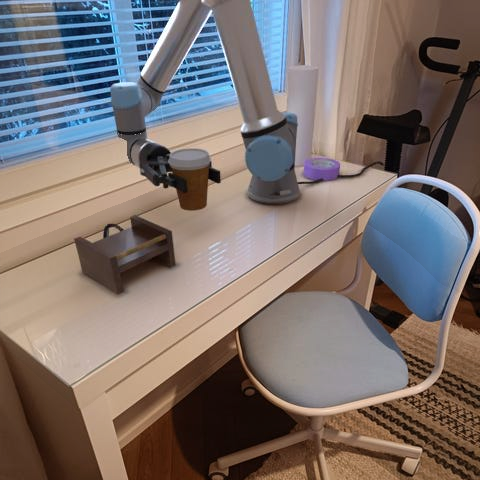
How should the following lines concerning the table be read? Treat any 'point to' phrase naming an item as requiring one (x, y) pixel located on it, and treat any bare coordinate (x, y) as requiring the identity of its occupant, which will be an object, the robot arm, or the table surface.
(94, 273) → the rack
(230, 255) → the table surface
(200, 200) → the disposable coffee cup
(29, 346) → the table surface
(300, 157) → the cylinder container
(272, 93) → the robot arm
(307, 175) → the tape roll
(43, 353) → the table surface
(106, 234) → the smartwatch
